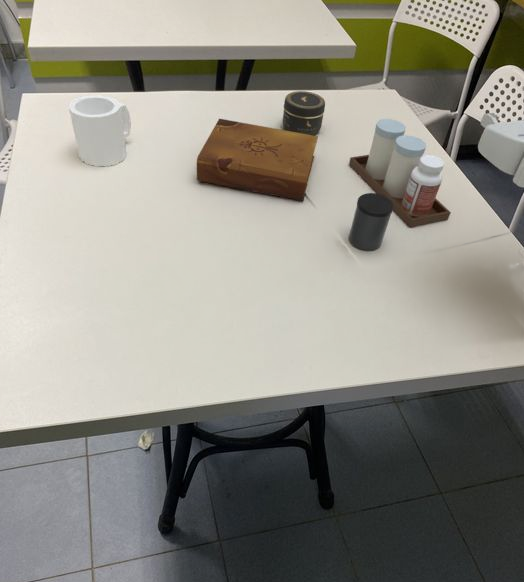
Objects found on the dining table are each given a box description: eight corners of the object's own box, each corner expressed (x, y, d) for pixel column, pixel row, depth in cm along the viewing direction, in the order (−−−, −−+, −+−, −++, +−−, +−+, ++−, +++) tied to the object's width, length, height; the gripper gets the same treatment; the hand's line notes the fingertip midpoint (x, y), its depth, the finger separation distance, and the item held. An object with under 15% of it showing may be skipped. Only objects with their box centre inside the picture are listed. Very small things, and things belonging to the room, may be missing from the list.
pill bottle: (433, 208, 105) (452, 160, 96) (423, 222, 101) (442, 172, 93) (406, 198, 107) (423, 149, 98) (395, 210, 103) (411, 161, 95)
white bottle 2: (399, 181, 111) (415, 133, 103) (415, 196, 108) (432, 148, 99) (376, 185, 109) (390, 137, 101) (391, 200, 106) (407, 152, 97)
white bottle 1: (382, 164, 115) (395, 117, 107) (396, 178, 112) (411, 130, 103) (359, 168, 113) (371, 120, 105) (373, 182, 110) (386, 134, 102)
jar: (288, 141, 120) (292, 109, 114) (276, 122, 126) (279, 91, 120) (326, 138, 123) (332, 107, 117) (312, 119, 129) (317, 89, 123)
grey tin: (369, 230, 99) (381, 190, 92) (387, 250, 95) (400, 210, 89) (341, 236, 97) (351, 196, 90) (358, 256, 93) (369, 216, 86)
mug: (111, 133, 116) (104, 85, 108) (145, 147, 113) (140, 99, 105) (69, 156, 108) (57, 106, 100) (105, 171, 105) (96, 122, 97)
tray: (348, 167, 115) (350, 157, 113) (383, 161, 118) (385, 151, 116) (408, 230, 100) (412, 220, 98) (446, 222, 103) (451, 212, 101)
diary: (196, 183, 105) (196, 158, 101) (218, 142, 117) (219, 118, 113) (302, 202, 103) (306, 178, 99) (313, 159, 116) (318, 135, 111)
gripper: (638, 128, 71) (567, 88, 79) (532, 146, 64) (466, 100, 72) (611, 169, 76) (546, 127, 83) (510, 189, 69) (450, 141, 77)
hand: (508, 114), depth 78 cm, fingers open, 8 cm apart
